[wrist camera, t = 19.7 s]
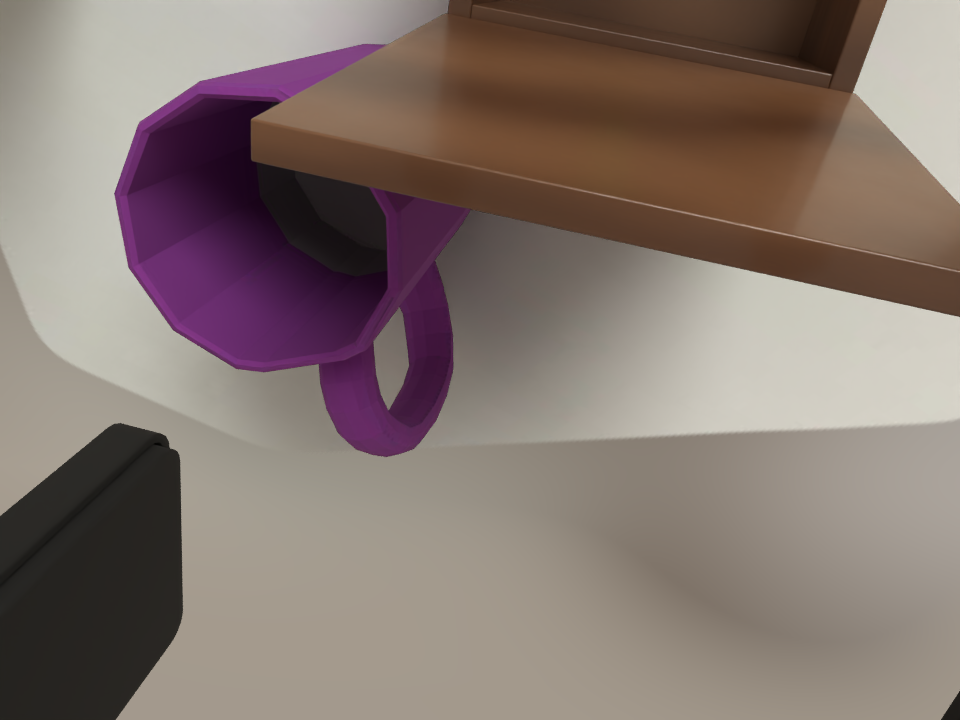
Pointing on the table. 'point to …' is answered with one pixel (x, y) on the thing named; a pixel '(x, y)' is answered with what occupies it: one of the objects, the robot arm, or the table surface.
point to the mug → (288, 254)
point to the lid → (632, 155)
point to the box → (711, 31)
